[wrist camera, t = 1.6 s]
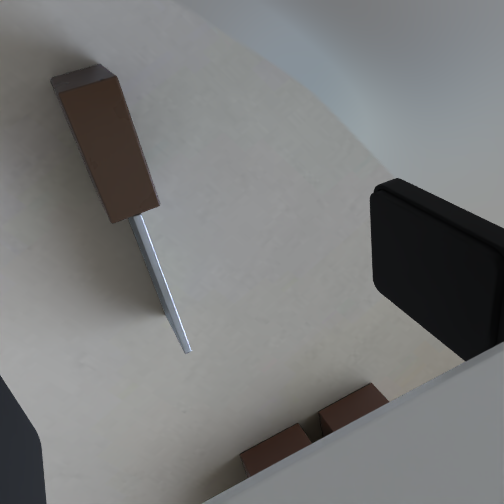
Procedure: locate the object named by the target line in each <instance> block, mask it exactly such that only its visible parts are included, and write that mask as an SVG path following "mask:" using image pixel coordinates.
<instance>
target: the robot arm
mask: <svg viewBox="0 0 504 504" xmlns="http://www.w3.org/2000/svg"><path fill="white" fill-rule="evenodd" d="M370 217H371V243H372V269H373V282H374V285H375V287H376V288H377V290H378V291H379V292H380V293H381V294H383V295H384V296H385V297H386V298H388V299H389V300H390V301H391V302H393V303H394V304H395V305H396V306H397V307H399V308H400V309H401V310H402V311H404V312H405V313H406V314H407V315H409V316H410V317H411V318H412V319H414V320H415V321H416V322H417V323H419V324H420V325H421V326H422V327H423V328H425V329H426V330H427V331H428V332H430V333H431V334H432V335H433V336H435V337H436V338H437V339H438V340H440V341H441V342H442V343H443V344H445V345H446V346H447V347H448V348H450V349H451V350H452V351H453V352H454V353H456V354H457V355H458V356H459V357H461V358H462V359H463V360H464V361H466V362H464V363H462V364H460V365H459V366H457V367H455V368H453V369H451V370H449V371H447V372H445V373H443V374H442V375H440V376H438V377H436V378H434V379H432V380H430V381H428V382H426V383H424V384H423V385H421V386H419V387H417V388H415V389H413V390H411V391H409V392H408V393H406V394H404V395H402V396H400V397H398V398H396V399H394V400H393V401H391V402H389V403H387V404H385V405H383V406H381V407H379V408H378V409H376V410H374V411H372V412H370V413H368V414H366V415H365V416H363V417H361V418H359V419H357V420H355V421H353V422H351V423H350V424H348V425H346V426H344V427H342V428H340V429H338V430H337V431H335V432H333V433H331V434H329V435H327V436H325V437H324V438H322V439H320V440H318V441H316V442H314V443H312V444H311V445H309V446H307V447H305V448H303V449H301V450H299V451H297V452H296V453H294V454H292V455H290V456H288V457H286V458H284V459H283V460H281V461H279V462H277V463H275V464H273V465H272V466H270V467H268V468H266V469H264V470H262V471H261V472H259V473H257V474H255V475H253V476H251V477H250V478H248V479H246V480H244V481H242V482H240V483H238V484H237V485H235V486H233V487H231V488H229V489H227V490H226V491H224V492H222V493H220V494H218V495H216V496H215V497H213V498H211V499H209V500H207V501H205V502H203V503H202V504H504V228H502V227H500V226H498V225H495V224H493V223H491V222H489V221H487V220H485V219H483V218H481V217H479V216H477V215H474V214H473V213H471V212H469V211H466V210H464V209H462V208H460V207H458V206H456V205H454V204H452V203H450V202H448V201H446V200H444V199H441V198H439V197H437V196H435V195H433V194H431V193H429V192H427V191H425V190H423V189H421V188H418V187H417V186H414V185H412V184H410V183H408V182H406V181H404V180H402V179H399V178H396V179H393V180H390V181H387V182H385V183H382V184H380V185H377V186H376V187H375V189H374V193H372V194H371V196H370ZM0 504H46V493H45V482H44V471H43V459H42V448H41V442H40V439H39V436H38V434H37V432H36V430H35V428H34V427H33V425H32V424H31V422H30V420H29V419H28V417H27V416H26V414H25V413H24V411H23V410H22V408H21V407H20V405H19V404H18V402H17V400H16V399H15V397H14V396H13V394H12V393H11V391H10V390H9V388H8V387H7V385H6V383H5V382H4V380H3V379H2V377H1V376H0Z"/></svg>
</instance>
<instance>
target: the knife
mask: <svg viewBox="0 0 504 504" xmlns="http://www.w3.org/2000/svg"><path fill="white" fill-rule="evenodd" d="M50 81H51V83H52V86H53V88H54V91H55V93H56V96H57V98H58V100H59V103H60V105H61V108H62V110H63V112H64V115H65V117H66V120H67V122H68V124H69V127H70V129H71V132H72V134H73V136H74V139H75V141H76V144H77V146H78V149H79V151H80V153H81V156H82V158H83V161H84V163H85V165H86V168H87V170H88V173H89V175H90V177H91V180H92V182H93V185H94V187H95V189H96V192H97V194H98V196H99V198H100V201H101V203H102V205H103V207H104V209H105V211H106V213H107V215H108V218H109V220H110V222H111V223H116V222H119V221H121V220H124V219H126V218H128V220H129V222H130V225H131V227H132V230H133V233H134V235H135V238H136V240H137V243H138V245H139V248H140V251H141V253H142V256H143V258H144V261H145V263H146V266H147V269H148V271H149V274H150V276H151V279H152V282H153V284H154V287H155V289H156V292H157V294H158V297H159V300H160V302H161V305H162V307H163V310H164V312H165V315H166V317H167V319H168V321H169V323H170V325H171V327H172V329H173V331H174V333H175V335H176V337H177V339H178V341H179V343H180V345H181V347H182V349H183V351H184V353H185V354H187V353H189V352H191V348H190V345H189V343H188V340H187V337H186V334H185V332H184V329H183V326H182V324H181V321H180V318H179V315H178V313H177V310H176V307H175V305H174V302H173V299H172V296H171V294H170V291H169V288H168V286H167V283H166V280H165V277H164V275H163V272H162V269H161V267H160V264H159V261H158V259H157V256H156V253H155V250H154V248H153V245H152V242H151V240H150V237H149V234H148V231H147V229H146V226H145V223H144V221H143V218H142V215H141V213H142V212H145V211H148V210H150V209H153V208H156V207H158V206H160V201H159V198H158V195H157V192H156V190H155V187H154V184H153V181H152V178H151V175H150V172H149V169H148V166H147V163H146V160H145V157H144V154H143V151H142V148H141V145H140V142H139V139H138V136H137V134H136V131H135V128H134V125H133V122H132V119H131V116H130V113H129V110H128V107H127V104H126V101H125V98H124V95H123V92H122V89H121V86H120V83H119V80H118V78H117V76H116V75H114V74H113V73H112V72H110V71H109V70H108V69H106V68H105V67H104V66H102V65H101V64H97V65H94V66H91V67H87V68H84V69H80V70H77V71H73V72H70V73H66V74H63V75H59V76H56V77H53V78H51V79H50Z"/></svg>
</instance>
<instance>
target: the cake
mask: <svg viewBox="0 0 504 504" xmlns="http://www.w3.org/2000/svg"><path fill="white" fill-rule="evenodd" d="M387 403H389V401H388V400H387V399H386V398H385V397H384V396H383V395H382V394H381V392H380V391H379V390H378V389H377V388H376V387H375V386H374V385H373V384H372V383H370V384H369V385H367V386H365V387H363V388H361V389H359V390H358V391H356V392H354V393H352V394H350V395H348V396H347V397H345V398H343V399H341V400H339V401H337V402H336V403H334V404H332V405H330V406H328V407H326V408H324V409H323V410H321V411H319V416H320V422H321V427H322V433H323V438H324V437H325V436H327V435H329V434H331V433H333V432H335V431H337V430H338V429H340V428H342V427H344V426H346V425H348V424H350V423H351V422H353V421H355V420H357V419H359V418H361V417H363V416H365V415H366V414H368V413H370V412H372V411H374V410H376V409H378V408H379V407H381V406H383V405H385V404H387ZM311 444H312V443H311V441H310V440H309V438H308V437H307V435H306V434H305V432H304V431H303V429H302V428H301V427H300V425H299V424H298V423H297V424H295V425H293V426H291V427H290V428H288V429H286V430H284V431H282V432H280V433H279V434H277V435H275V436H273V437H271V438H269V439H268V440H266V441H264V442H262V443H260V444H258V445H257V446H255V447H253V448H251V449H249V450H247V451H245V452H244V453H242V454H240V457H241V460H242V463H243V465H244V468H245V471H246V474H247V477H248V478H250V477H251V476H253V475H255V474H257V473H259V472H261V471H262V470H264V469H266V468H268V467H270V466H272V465H273V464H275V463H277V462H279V461H281V460H283V459H284V458H286V457H288V456H290V455H292V454H294V453H296V452H297V451H299V450H301V449H303V448H305V447H307V446H309V445H311Z"/></svg>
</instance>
